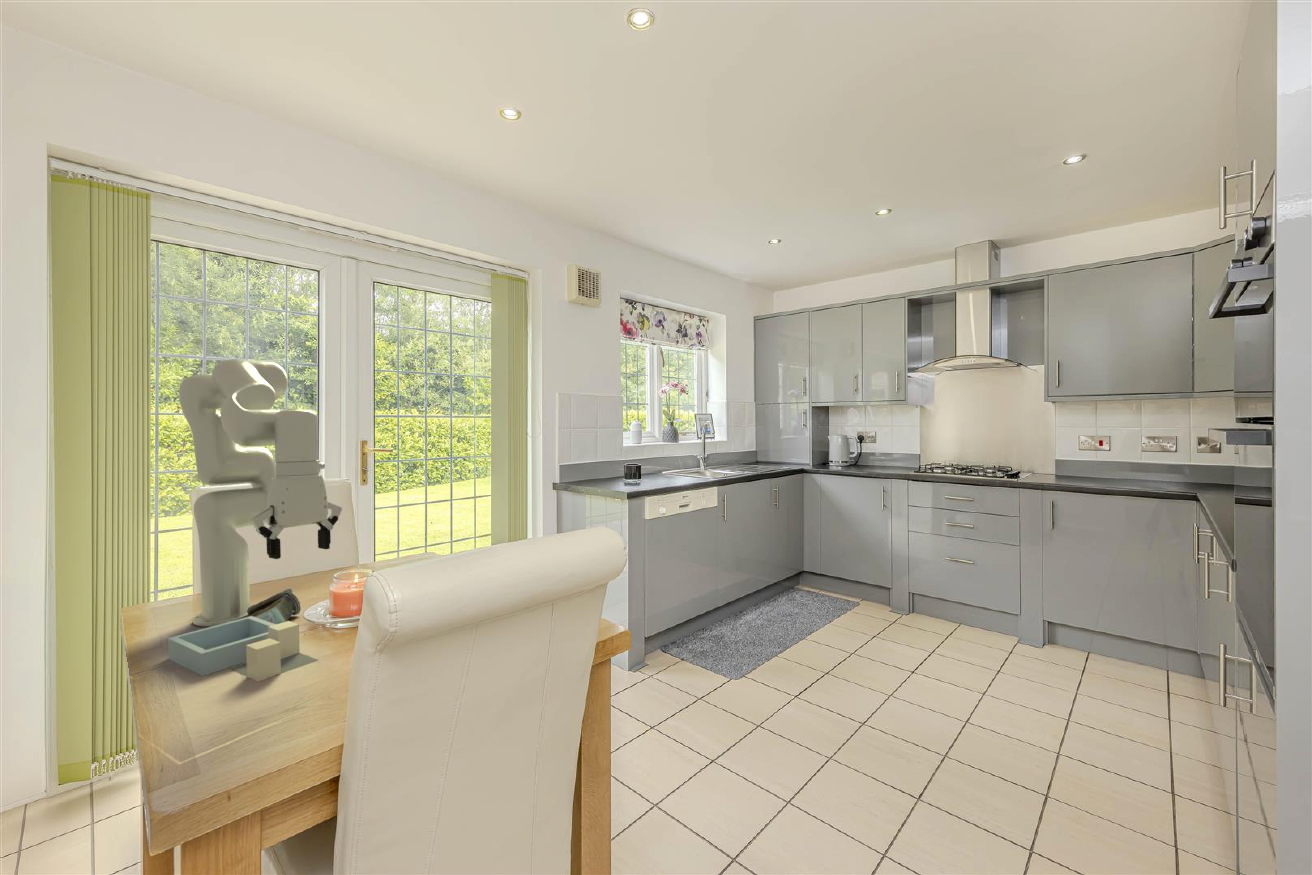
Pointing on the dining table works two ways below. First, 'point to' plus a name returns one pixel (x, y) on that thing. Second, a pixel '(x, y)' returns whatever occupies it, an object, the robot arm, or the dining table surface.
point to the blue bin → (217, 645)
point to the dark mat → (286, 663)
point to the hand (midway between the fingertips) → (300, 553)
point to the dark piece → (276, 608)
